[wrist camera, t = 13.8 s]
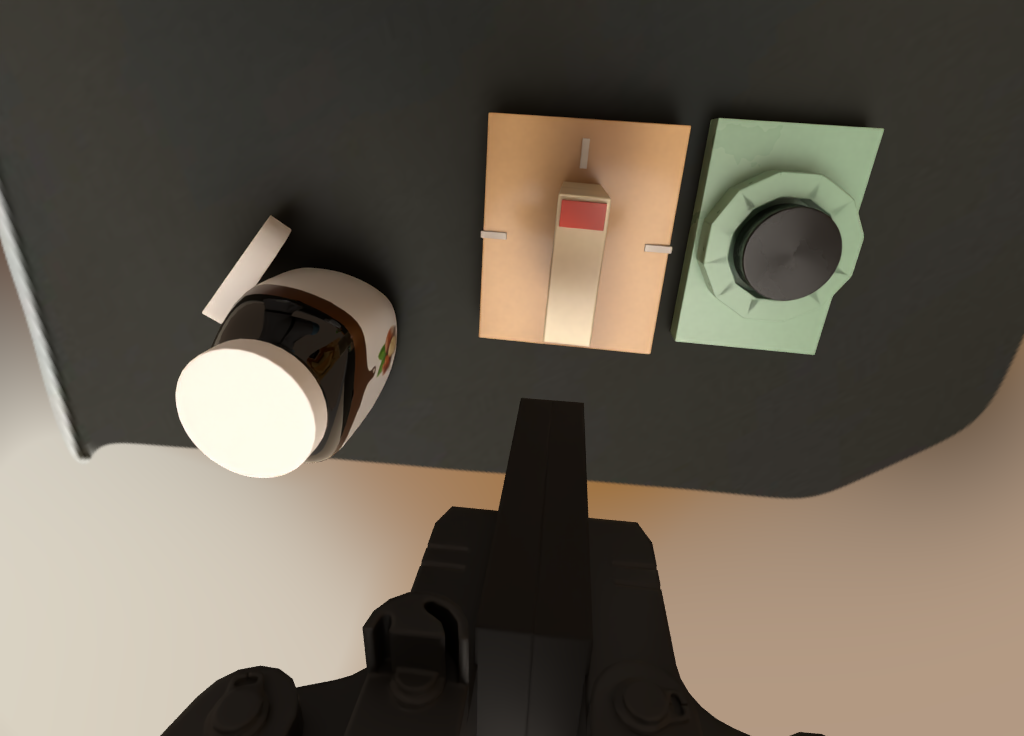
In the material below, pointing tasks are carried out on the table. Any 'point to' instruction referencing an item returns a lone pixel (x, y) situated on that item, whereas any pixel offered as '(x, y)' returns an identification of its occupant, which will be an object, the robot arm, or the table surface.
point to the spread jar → (286, 363)
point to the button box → (748, 190)
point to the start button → (787, 251)
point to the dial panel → (532, 215)
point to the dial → (576, 263)
